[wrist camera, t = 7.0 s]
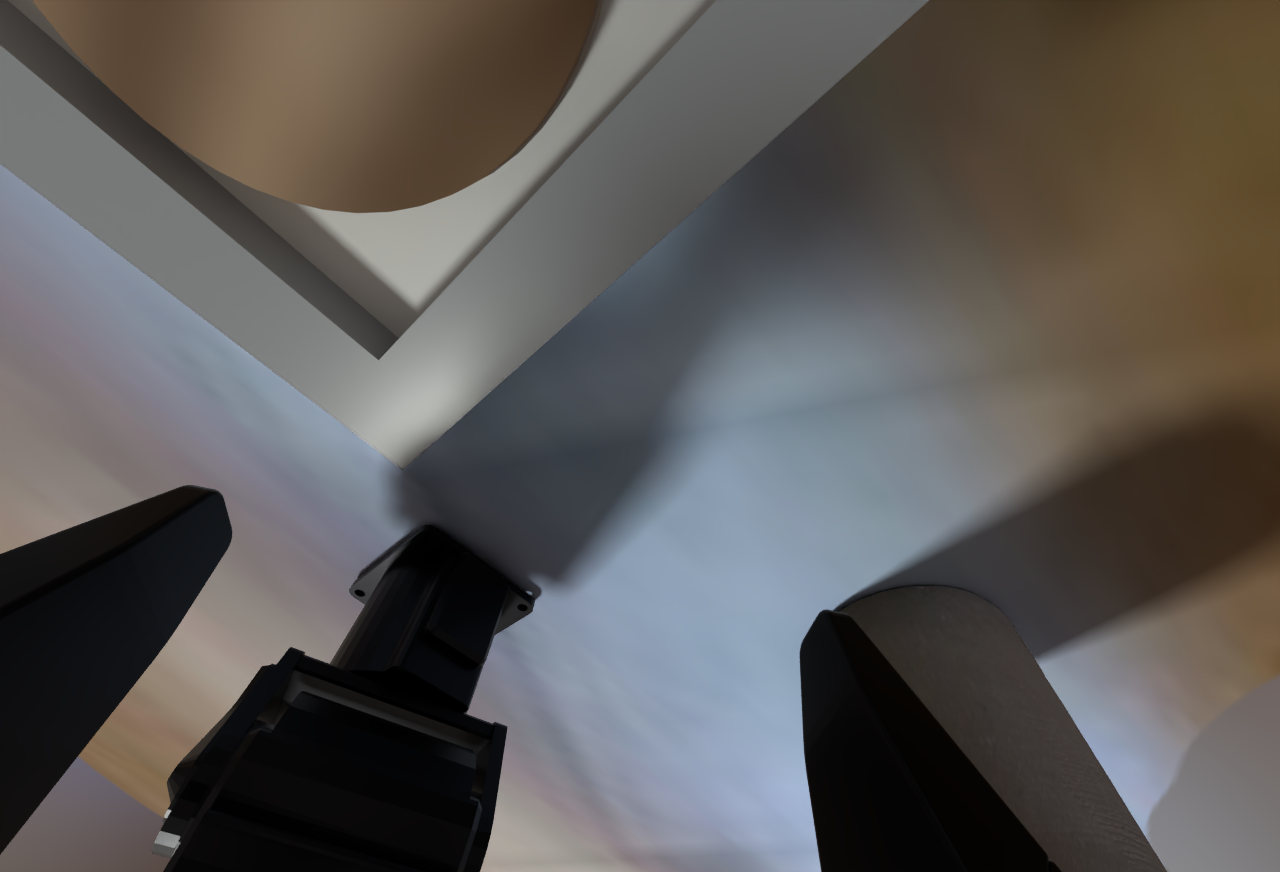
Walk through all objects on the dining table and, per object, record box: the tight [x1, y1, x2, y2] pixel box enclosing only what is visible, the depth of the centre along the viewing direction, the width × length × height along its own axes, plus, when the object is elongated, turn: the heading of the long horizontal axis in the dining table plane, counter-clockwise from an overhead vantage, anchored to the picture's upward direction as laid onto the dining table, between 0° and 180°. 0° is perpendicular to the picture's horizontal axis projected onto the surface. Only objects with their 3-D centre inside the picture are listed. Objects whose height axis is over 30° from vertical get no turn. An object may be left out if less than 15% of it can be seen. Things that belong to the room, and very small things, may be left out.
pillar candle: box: [840, 585, 1167, 872], centre depth 21 cm, size 10×10×15 cm
